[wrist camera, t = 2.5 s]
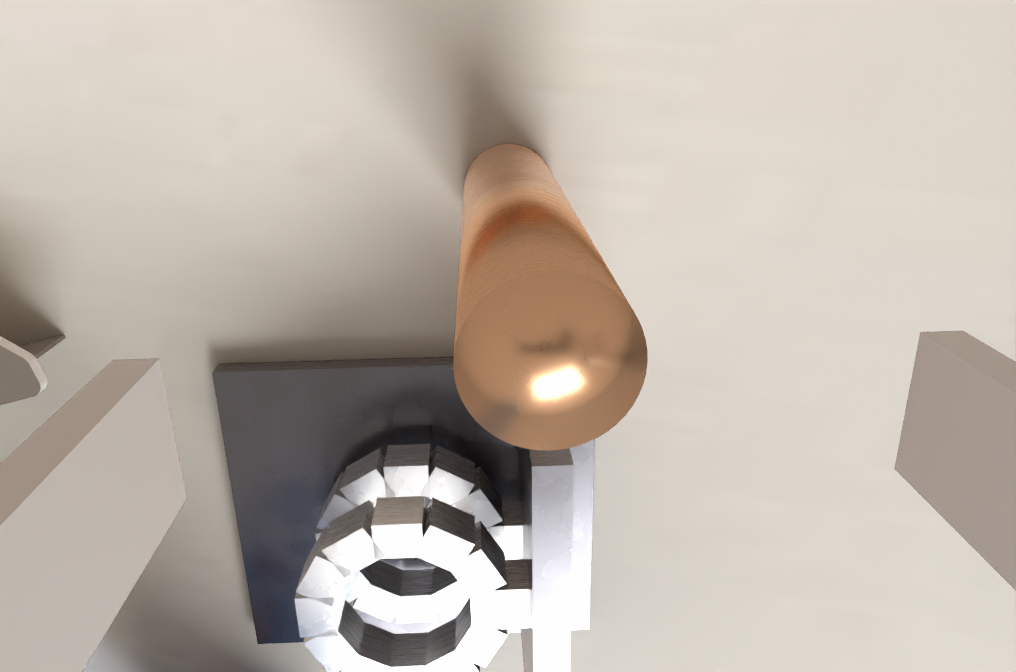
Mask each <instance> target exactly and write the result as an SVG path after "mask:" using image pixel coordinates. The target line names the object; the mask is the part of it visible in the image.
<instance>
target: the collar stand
mask: <svg viewBox="0 0 1016 672" xmlns="http://www.w3.org/2000/svg"><path fill="white" fill-rule="evenodd" d="M453 359H454V357H432V358H400V359H368V360H336V361H304V362H271V363H239V364H219V365H218V366H217V367H216V369H215V370H214V371H213V372H212V373H213V379H214V385H215V391H216V397H217V403H218V409H219V415H220V421H221V427H222V433H223V439H224V445H225V451H226V457H227V463H228V469H229V475H230V481H231V487H232V493H233V499H234V504H235V510H236V516H237V522H238V528H239V534H240V540H241V546H242V552H243V558H244V564H245V570H246V576H247V582H248V588H249V594H250V600H251V606H252V612H253V618H254V624H255V630H256V636H257V642H258V644H267V643H290V642H303V644H304V646H305V647H306V648H307V649H308V650H309V651H310V652H311V653H312V654H313V655H314V657H315V658H316V659H317V660H318V661H319V662H320V663H321V664H322V665H323V667H324V668H325V669H326V670H327V671H328V672H337V671H339V672H480V666H482V667H484V668H485V667H486V666H487V664H488V663H489V662H490V660H491V659H492V657H493V656H494V654H495V653H496V651H497V650H498V648H499V647H500V645H501V644H502V642H503V641H504V640H505V638H506V637H507V635H508V633H521V637H522V649H523V662H524V672H570V661H571V630H589V627H590V590H591V553H592V516H593V478H594V441H595V439H594V440H591V441H589V442H587V443H585V444H582V445H579V446H576V447H572V448H567V449H561V450H551V451H549V450H533V449H526V448H522V447H518V446H515V445H512V444H510V443H507V442H505V441H503V440H501V439H499V438H497V437H495V436H493V435H492V434H491V433H489V432H488V431H487V430H485V429H484V428H483V427H482V426H481V425H480V424H479V423H477V422H476V421H475V419H474V418H473V417H472V416H471V414H470V413H469V412H468V410H467V409H466V407H465V405H464V404H463V402H462V400H461V398H460V395H459V393H458V390H457V387H456V383H455V379H454V370H453Z"/></svg>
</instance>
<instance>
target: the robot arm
mask: <svg viewBox="0 0 1016 672" xmlns="http://www.w3.org/2000/svg"><path fill="white" fill-rule="evenodd" d="M895 470H896V471H897V472H898V473H899V474H900V475H901V476H902V477H903V478H904V479H905V480H906V481H907V482H908V483H909V484H910V485H911V486H912V487H913V488H914V489H915V490H916V491H917V492H918V493H919V494H920V495H921V496H922V497H923V498H924V499H925V500H926V501H927V502H928V503H929V504H930V505H931V506H932V507H933V508H934V509H935V510H936V511H937V512H938V513H939V514H940V515H941V516H942V517H943V518H944V519H945V520H946V521H947V522H948V523H949V524H950V525H951V526H952V527H953V528H954V529H955V530H956V531H957V532H958V533H959V534H960V535H961V536H962V537H963V538H964V539H965V540H966V541H967V542H968V543H969V544H970V545H971V546H972V547H973V548H974V549H975V550H976V551H977V552H978V553H979V554H980V555H981V556H982V557H983V558H984V559H985V560H986V561H987V562H988V563H989V564H990V565H991V566H992V567H993V568H994V569H995V570H996V571H997V572H998V573H999V574H1000V575H1001V576H1002V577H1003V578H1004V579H1005V580H1006V581H1007V582H1008V583H1009V584H1010V585H1011V586H1012V587H1013V588H1014V589H1015V590H1016V362H1015V361H1013V360H1012V359H1010V358H1008V357H1007V356H1005V355H1003V354H1001V353H1000V352H998V351H996V350H995V349H993V348H991V347H990V346H988V345H986V344H985V343H983V342H981V341H979V340H978V339H976V338H974V337H973V336H971V335H969V334H968V333H966V332H964V331H940V332H920V337H919V342H918V347H917V352H916V358H915V363H914V368H913V374H912V379H911V384H910V389H909V395H908V400H907V405H906V411H905V416H904V421H903V426H902V432H901V437H900V442H899V448H898V453H897V458H896V463H895ZM186 499H187V497H186V492H185V486H184V481H183V476H182V471H181V466H180V461H179V456H178V450H177V445H176V440H175V435H174V430H173V425H172V420H171V414H170V409H169V404H168V399H167V394H166V389H165V384H164V379H163V373H162V368H161V363H160V358H159V359H130V360H113V361H112V362H111V363H109V364H108V365H107V366H106V367H105V368H104V369H103V370H102V371H101V372H100V373H99V374H97V375H96V376H95V377H94V378H93V379H92V380H91V381H90V382H89V383H88V384H87V385H85V386H84V387H83V388H82V389H81V390H80V391H79V392H78V393H77V394H76V395H75V396H73V397H72V398H71V399H70V400H69V401H68V402H67V403H66V404H65V405H64V406H63V407H61V408H60V409H59V410H58V411H57V412H56V413H55V414H54V415H53V416H52V417H51V418H49V419H48V420H47V421H46V422H45V423H44V424H43V425H42V426H41V427H40V428H39V429H37V430H36V431H35V432H34V433H33V434H32V435H31V436H30V437H29V438H28V439H27V440H25V441H24V442H23V443H22V444H21V445H20V446H19V447H18V448H17V449H16V450H15V451H13V452H12V453H11V454H10V455H9V456H8V457H7V458H6V459H5V460H4V461H3V462H1V463H0V672H83V670H84V668H85V667H86V665H87V663H88V662H89V660H90V658H91V657H92V655H93V654H94V652H95V650H96V649H97V647H98V645H99V644H100V642H101V640H102V639H103V637H104V635H105V634H106V632H107V630H108V629H109V627H110V625H111V624H112V622H113V620H114V619H115V617H116V615H117V614H118V612H119V610H120V609H121V607H122V605H123V604H124V602H125V600H126V599H127V597H128V595H129V594H130V592H131V591H132V589H133V587H134V586H135V584H136V582H137V581H138V579H139V577H140V576H141V574H142V572H143V571H144V569H145V567H146V566H147V564H148V562H149V561H150V559H151V557H152V556H153V554H154V552H155V551H156V549H157V547H158V546H159V544H160V542H161V541H162V539H163V537H164V536H165V534H166V532H167V531H168V529H169V527H170V526H171V524H172V523H173V521H174V519H175V518H176V516H177V514H178V513H179V511H180V509H181V508H182V506H183V504H184V503H185V501H186Z"/></svg>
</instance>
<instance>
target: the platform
mask: <svg viewBox="0 0 1016 672" xmlns="http://www.w3.org/2000/svg"><path fill="white" fill-rule="evenodd" d="M65 338H66V337H65V335H64V334H63V335H60V336H56V337H52V338H48V339H44V340H40V341H37V342H33V343H29V344H25V345H21V346H17V345H15V344H13V343H12V342H10V341H8V340H6V339H5V338H3V337H1V336H0V405H2V404H6V403H10V402H14V401H17V400H21V399H25V398H29V397H33V396H36V395H37V394H39V393H40V392H41V391H42V390H43V389H45V388H46V386H47V378H46V376H45V374H44V372H43V370H42V369H41V367H40V365H39V363H38V361H37V358H39V357H40V356H41V355H43V354H44V353H45V352H47V351H48V350H50V349H51V348H52V347H54V346H55V345H56V344H58V343H59V342H60V341H62V340H63V339H65Z"/></svg>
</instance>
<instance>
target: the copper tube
mask: <svg viewBox="0 0 1016 672" xmlns="http://www.w3.org/2000/svg"><path fill="white" fill-rule="evenodd" d="M646 369H647V346H646V340H645V336H644V333H643V330H642V327H641V325H640V323H639V320H638V318H637V316H636V315H635V313H634V311H633V310H632V308H631V306H630V305H629V303H628V301H627V299H626V298H625V296H624V294H623V293H622V291H621V289H620V288H619V286H618V284H617V283H616V281H615V279H614V278H613V276H612V274H611V272H610V271H609V269H608V267H607V266H606V264H605V262H604V261H603V259H602V257H601V256H600V254H599V252H598V251H597V249H596V247H595V245H594V244H593V242H592V240H591V239H590V237H589V235H588V234H587V232H586V230H585V229H584V227H583V225H582V224H581V222H580V220H579V219H578V217H577V215H576V213H575V212H574V210H573V208H572V207H571V205H570V203H569V202H568V200H567V198H566V197H565V195H564V193H563V192H562V190H561V188H560V186H559V185H558V183H557V181H556V180H555V178H554V176H553V175H552V173H551V171H550V170H549V168H548V166H547V165H546V163H545V162H544V160H543V159H542V158H541V157H540V156H539V155H538V154H537V153H535V152H534V151H532V150H531V149H529V148H527V147H524V146H521V145H516V144H501V145H497V146H494V147H491V148H489V149H487V150H485V151H484V152H483V153H481V154H480V155H479V156H478V157H477V158H476V159H475V160H474V161H473V163H472V164H471V166H470V167H469V169H468V172H467V174H466V177H465V182H464V195H463V211H462V227H461V244H460V260H459V276H458V292H457V308H456V325H455V341H454V359H453V370H454V379H455V383H456V387H457V390H458V393H459V395H460V398H461V400H462V402H463V404H464V405H465V407H466V409H467V410H468V412H469V413H470V414H471V416H472V417H473V418H474V419H475V421H476V422H477V423H479V424H480V425H481V426H482V427H483V428H484V429H485V430H487V431H488V432H489V433H491V434H492V435H493V436H495V437H497V438H499V439H501V440H503V441H505V442H507V443H510V444H512V445H515V446H518V447H522V448H526V449H533V450H549V451H551V450H561V449H567V448H572V447H576V446H579V445H582V444H585V443H587V442H589V441H591V440H594V439H596V438H598V437H599V436H601V435H602V434H604V433H606V432H607V431H609V430H610V429H611V428H612V427H614V426H615V425H616V424H617V423H618V422H619V421H620V420H621V419H622V418H623V417H624V416H625V415H626V414H627V412H628V411H629V410H630V408H631V407H632V406H633V404H634V402H635V401H636V399H637V397H638V395H639V393H640V391H641V388H642V386H643V383H644V379H645V375H646Z"/></svg>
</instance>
